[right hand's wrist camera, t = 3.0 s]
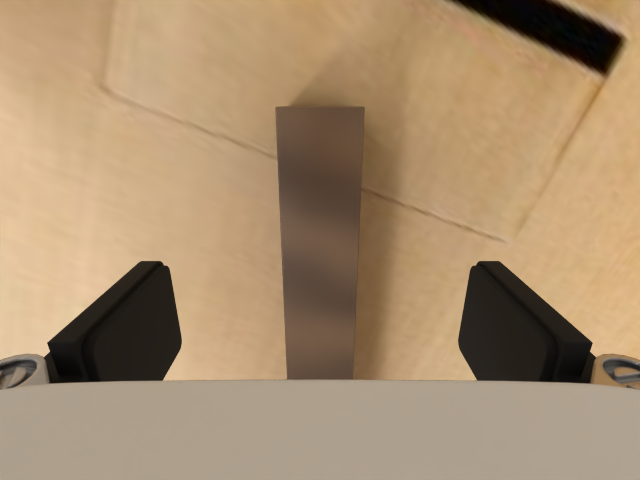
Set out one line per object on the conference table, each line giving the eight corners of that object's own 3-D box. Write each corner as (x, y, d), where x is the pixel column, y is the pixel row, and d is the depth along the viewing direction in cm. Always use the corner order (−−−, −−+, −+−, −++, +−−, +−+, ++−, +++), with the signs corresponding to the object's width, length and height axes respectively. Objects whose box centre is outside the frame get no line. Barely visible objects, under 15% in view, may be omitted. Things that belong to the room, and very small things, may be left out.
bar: (287, 106, 24) (275, 106, 17) (352, 106, 24) (364, 106, 17) (303, 597, 46) (300, 682, 39) (336, 597, 46) (339, 682, 39)
